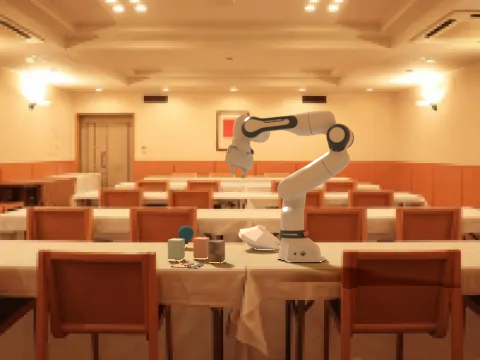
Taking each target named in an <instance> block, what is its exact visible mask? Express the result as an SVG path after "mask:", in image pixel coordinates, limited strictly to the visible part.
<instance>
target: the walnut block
mask: <svg viewBox="0 0 480 360" xmlns="http://www.w3.org/2000/svg"><path fill="white" fill-rule="evenodd" d="M207 260H208V262H220V263H221V262H223V261H224V260H225V261H226V240H225V239H212V240H211V239H210V241H209V242H208V259H207Z"/></svg>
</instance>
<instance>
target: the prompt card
mask: <svg viewBox="0 0 480 360" xmlns="http://www.w3.org/2000/svg"><path fill="white" fill-rule="evenodd" d="M194 263H195V262H186V263H182V264H181V265H184V266H185V267H186V266H187V267H198V266H200V265H202V264H205V263H203V262H198V263H199V264H197V265H194ZM191 265H194V266H191ZM202 266H203V265H202ZM200 267H201V266H200Z"/></svg>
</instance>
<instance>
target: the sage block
mask: <svg viewBox="0 0 480 360" xmlns="http://www.w3.org/2000/svg"><path fill="white" fill-rule="evenodd" d="M185 252H186V248H185V239H180V238H175V237H173V238H171V239H167V260H168V259H175V260H181V259H183V258H184V257H185V256H186V253H185ZM185 258H186V257H185Z"/></svg>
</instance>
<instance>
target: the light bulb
mask: <svg viewBox="0 0 480 360" xmlns="http://www.w3.org/2000/svg"><path fill="white" fill-rule="evenodd" d="M194 232H195V231H194V229H193V228H192V227H191V226H190V225H182V226H181V227H180V228H179V229H178V232H177V233H178V234H177V235H178V239H185V244H188V245H189V242H190V241H191V240H192V239H194V235H195V233H194Z"/></svg>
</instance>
